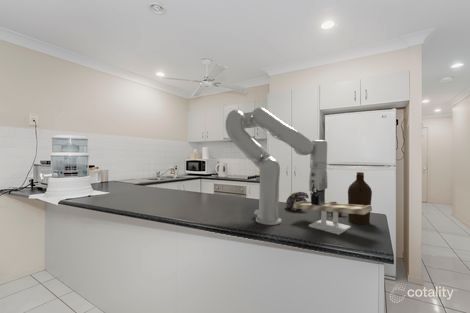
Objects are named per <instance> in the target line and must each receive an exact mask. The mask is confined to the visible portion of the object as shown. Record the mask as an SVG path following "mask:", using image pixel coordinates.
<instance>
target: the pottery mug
mask: <svg viewBox="0 0 470 313" xmlns="http://www.w3.org/2000/svg"><path fill="white" fill-rule="evenodd" d="M328 203H337V201H330V202H328ZM330 215H331V217H332V218H333V212H332V213H331V212H330ZM342 215H343V213H340V212H338V217H342Z"/></svg>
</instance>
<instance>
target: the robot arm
mask: <svg viewBox="0 0 470 313" xmlns="http://www.w3.org/2000/svg"><path fill="white" fill-rule="evenodd" d="M224 124H225V130H226V134H227V136H228V138H229V139H230V141H231V142H232V143H233V144H234V145H235V146H236V147H237V148H238V149H239V150H240V151H241V152H242V153H243V154H244V155H245V157H246V158H247V159H248V160H249V161H251V162H252V163H253V164H254V165H255V167H257V168H258V169H259V198H258V204H259V205H258V209H255V211H254V212H253V214H255V215H256V216H257V217H255V222H257V223H258V224H261V225H267V226H275V225H276V226H277V225H280V224H281V223H282V218H280V217H279V210H280V209H279V205H280V204H279V202H280V174H281V166H280V163H279V161H278V160H277V159H276V158H274V157H273V156H272V155H271V154H270V153H269V152H268V150H266V149H265V148H264V147H263V146H262V145H261V144H260V143H258V142H257V140H255V139H254V138H253V137H252V136H251V135H250V133H249V132H247V131H246V129H252V128H261V130H263V131H264V132H266V133H267V134H269V135H270V136H271V137H272V138H274V139H276V140H278V141H282V142H284V143H285V144H287V145H288V146H289V147H291V149H293V151H294V152H295V153H296V154H297V155H299V156H307V155H310V160H309V162H310V163H309V168H310V170H309V171H310V172H309V180H308V191H309V192H310V193H311V195H310V202H311V204H315V205H318V192H324V193H325V190H326V189H328V172H327V170H328V141H326V140H325V139H324V140H323V139H320V140H319V139H316V140H310V139H309V138H308V137H306V136H305V135H304V134H302V133H301V132H299V131H298V130H296V129H295V128H294V127H291V126H289V125H288V124H286V123H285V122H284V121H282V120H281V119H279V118H278V117H276V115H273V113H271V112H269V111H268V110H267V109H265V108H264V107H261V106H260V107H256V108H255V109H253V110H252V111H249V112H243V111H241V110H239V109H233V110H231V111H230V112H229V113H228V114H227V115H226V119H225V123H224ZM315 192H316V193H315Z"/></svg>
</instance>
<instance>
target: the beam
mask: <svg viewBox="0 0 470 313" xmlns="http://www.w3.org/2000/svg"><path fill="white" fill-rule="evenodd" d="M294 208H297V210H299V209H301V210H308V211H310V210H311V211H320V212H321V211H326V212H327V213H331V212H340V213H342V214H348V213H351V214H361V215H365V214H367V213H369V212H370V213H371V212H372V211H373V209H372V208H373V207H372V205H353V204H348V203H329V202H324V205H322V206H318V205H311V201H308V200H307V201H300V202H296V203H295V204H294Z"/></svg>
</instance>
